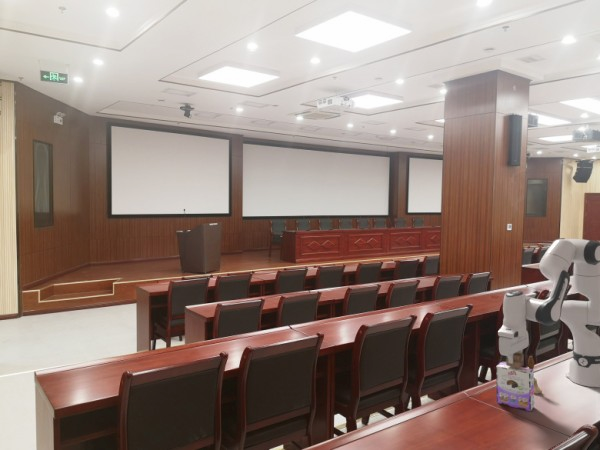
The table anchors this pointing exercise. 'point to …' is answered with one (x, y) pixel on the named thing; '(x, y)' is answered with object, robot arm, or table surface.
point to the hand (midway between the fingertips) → (514, 361)
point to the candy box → (515, 386)
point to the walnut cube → (516, 360)
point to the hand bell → (536, 388)
